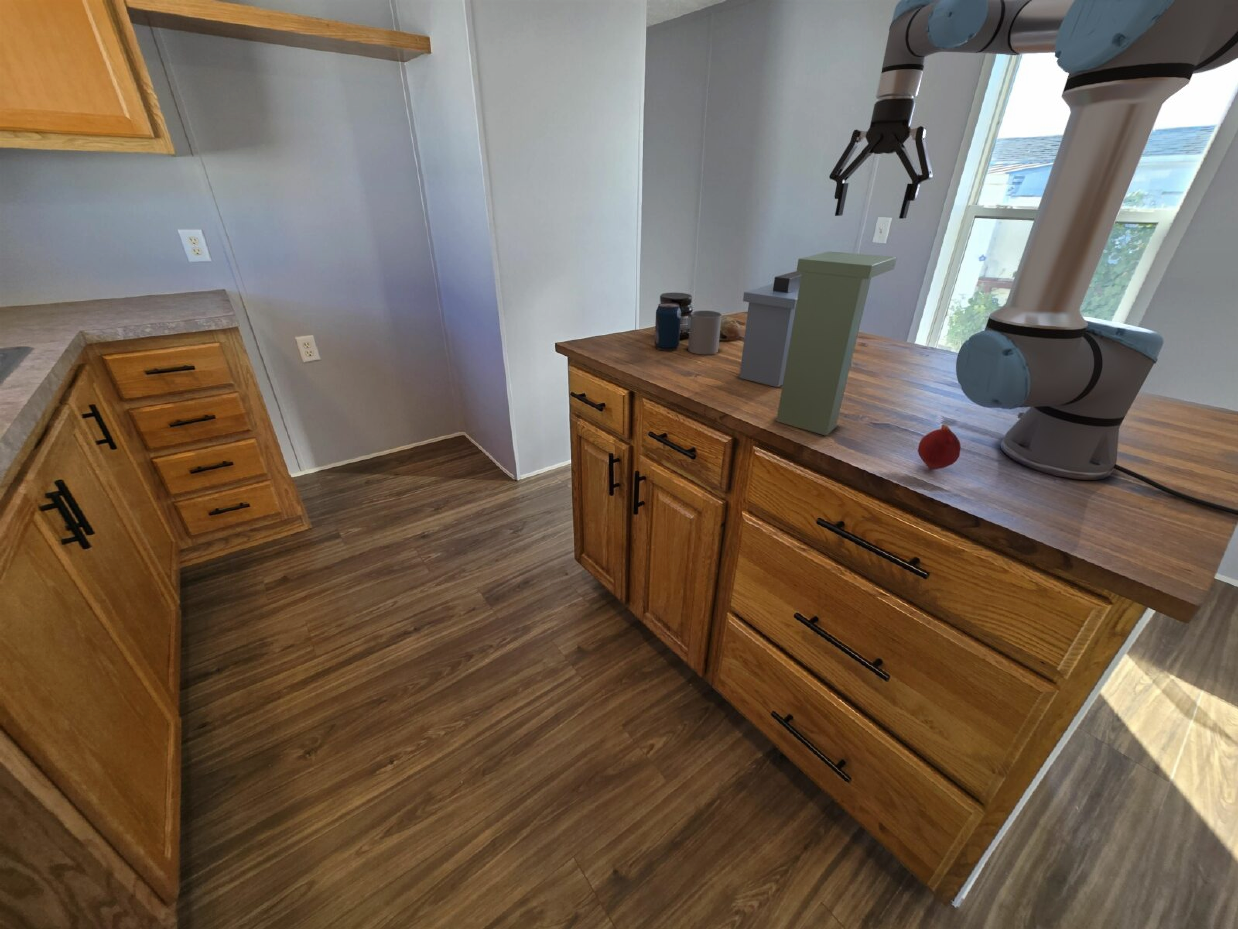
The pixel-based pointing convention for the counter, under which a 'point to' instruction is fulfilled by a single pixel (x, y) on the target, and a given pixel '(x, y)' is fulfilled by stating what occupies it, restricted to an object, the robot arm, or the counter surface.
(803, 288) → the green capped pedestal
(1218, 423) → the counter surface
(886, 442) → the counter surface
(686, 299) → the supplement container
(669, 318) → the soda can
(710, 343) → the cup
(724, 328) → the bread roll
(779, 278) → the black bar
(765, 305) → the grey lidded box
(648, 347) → the counter surface
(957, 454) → the onion
